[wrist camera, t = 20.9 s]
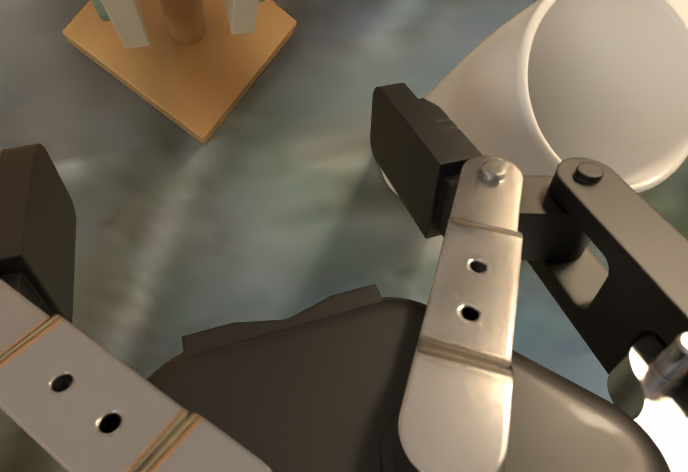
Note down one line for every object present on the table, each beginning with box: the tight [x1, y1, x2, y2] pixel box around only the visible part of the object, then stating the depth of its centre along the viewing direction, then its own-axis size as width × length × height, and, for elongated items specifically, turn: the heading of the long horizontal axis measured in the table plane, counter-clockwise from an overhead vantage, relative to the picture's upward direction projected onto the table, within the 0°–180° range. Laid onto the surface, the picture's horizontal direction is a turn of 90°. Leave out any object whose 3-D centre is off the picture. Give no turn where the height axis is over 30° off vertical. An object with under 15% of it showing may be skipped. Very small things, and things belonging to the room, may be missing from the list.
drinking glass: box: [381, 0, 688, 195], centre depth 22 cm, size 7×7×15 cm
